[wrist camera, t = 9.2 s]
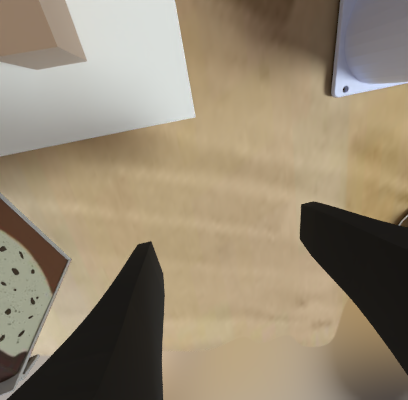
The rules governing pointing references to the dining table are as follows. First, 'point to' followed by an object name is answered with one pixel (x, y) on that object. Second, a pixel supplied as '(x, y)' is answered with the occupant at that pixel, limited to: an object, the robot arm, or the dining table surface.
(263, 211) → the dining table surface
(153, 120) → the cover sheet
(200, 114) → the dining table surface
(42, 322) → the food container
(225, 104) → the dining table surface
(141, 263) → the robot arm
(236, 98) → the dining table surface
